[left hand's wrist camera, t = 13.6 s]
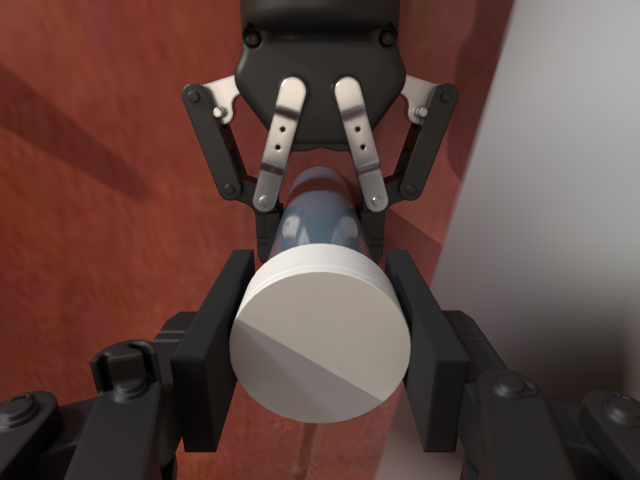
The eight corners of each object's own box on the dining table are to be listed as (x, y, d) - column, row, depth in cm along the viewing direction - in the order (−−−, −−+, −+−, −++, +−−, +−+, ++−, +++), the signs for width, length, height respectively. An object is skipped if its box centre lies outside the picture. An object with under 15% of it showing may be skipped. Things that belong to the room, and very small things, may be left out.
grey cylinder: (339, 231, 29) (366, 417, 12) (283, 215, 28) (229, 384, 11) (358, 176, 27) (419, 300, 10) (299, 158, 27) (265, 256, 10)
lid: (366, 392, 14) (374, 440, 12) (227, 357, 13) (212, 401, 11) (421, 268, 12) (441, 300, 10) (263, 222, 11) (253, 247, 9)
